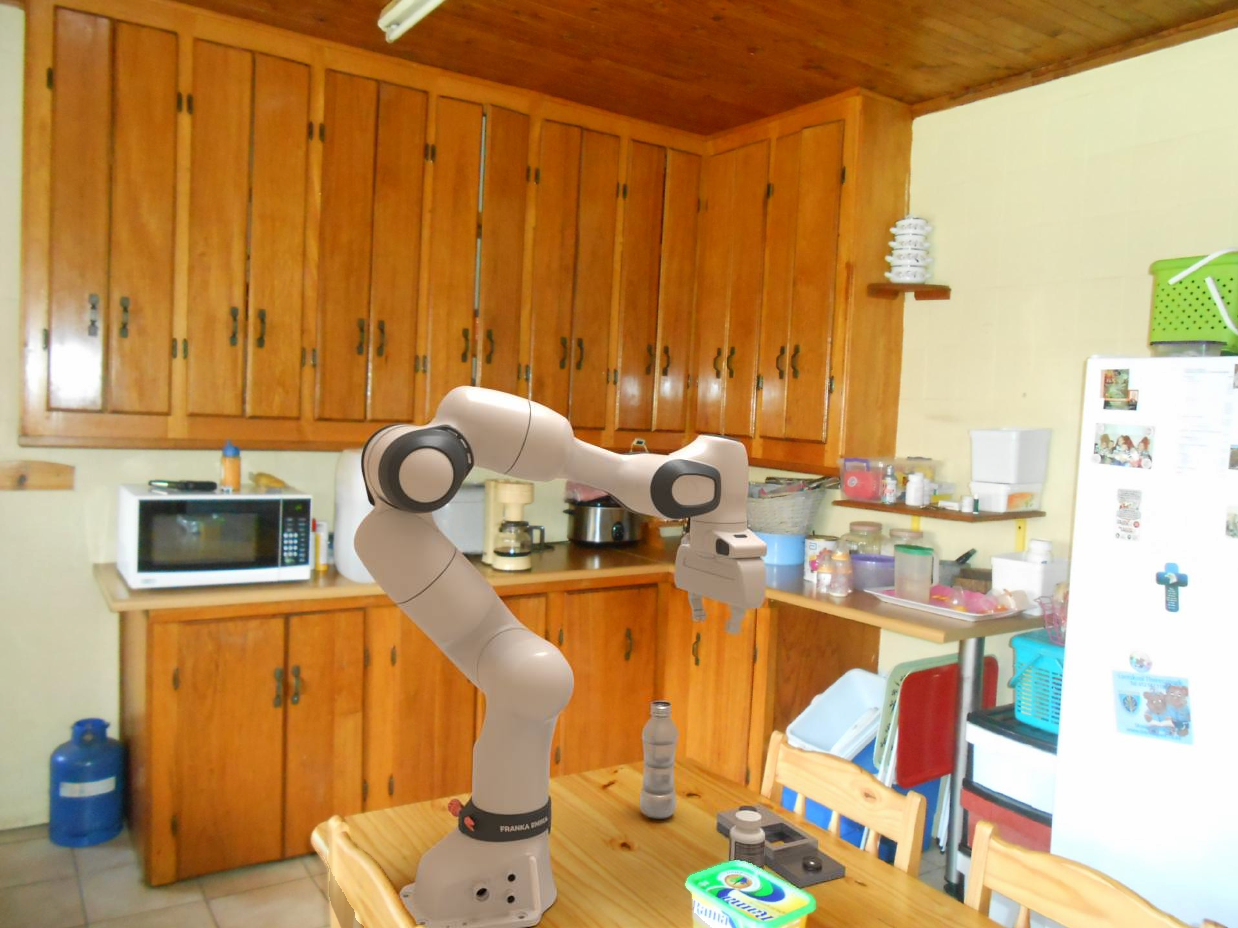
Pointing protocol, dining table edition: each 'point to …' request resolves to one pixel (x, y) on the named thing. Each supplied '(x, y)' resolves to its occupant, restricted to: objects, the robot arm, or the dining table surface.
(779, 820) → the bottle holder plate
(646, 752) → the plastic bottle
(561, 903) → the dining table surface
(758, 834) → the pill bottle
